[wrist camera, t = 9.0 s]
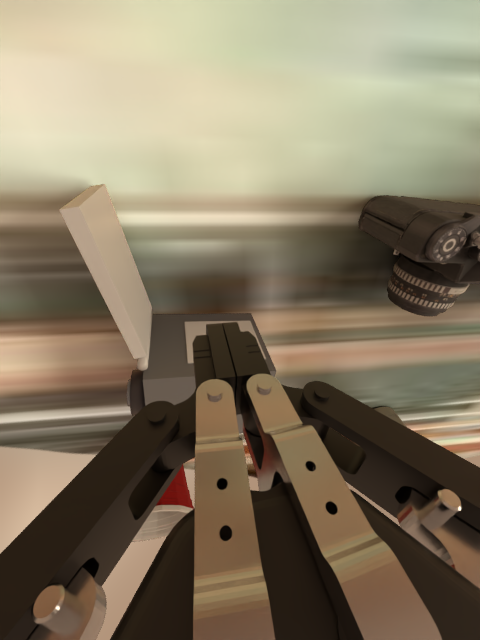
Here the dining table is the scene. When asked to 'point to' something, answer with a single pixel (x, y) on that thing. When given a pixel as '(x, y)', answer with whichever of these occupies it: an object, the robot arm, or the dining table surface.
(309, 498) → the robot arm
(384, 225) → the camera
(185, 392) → the camera body
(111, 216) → the side door
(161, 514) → the plastic cup
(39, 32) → the dining table surface
